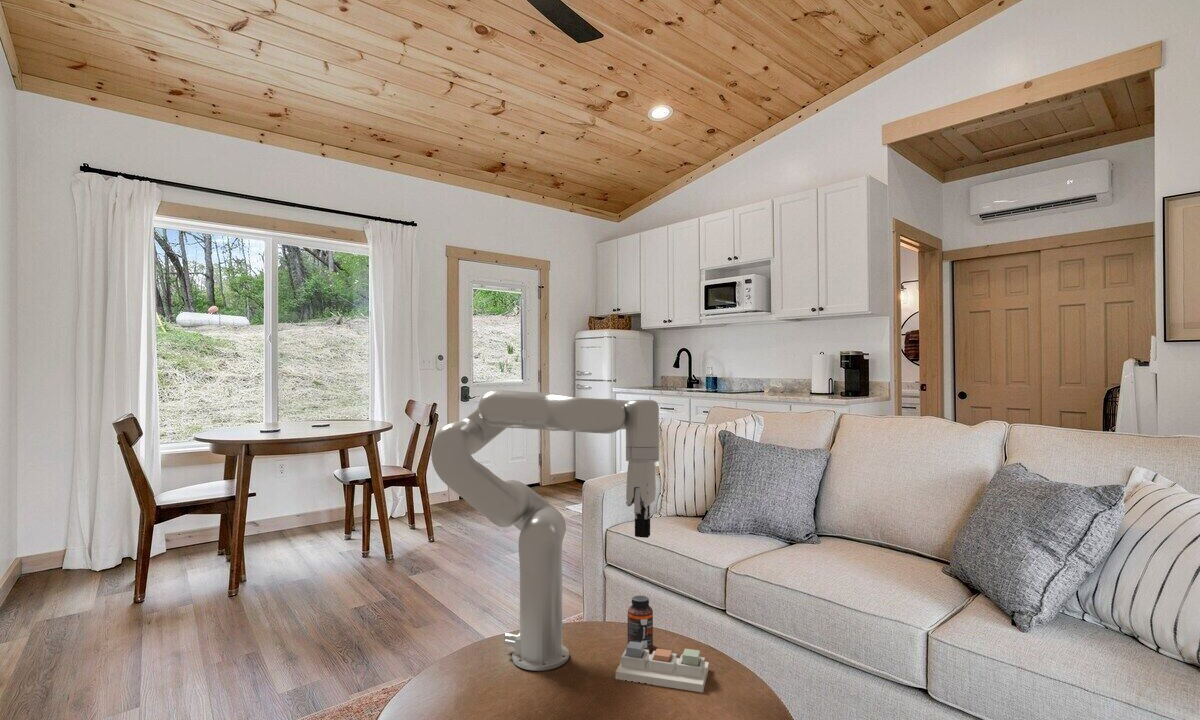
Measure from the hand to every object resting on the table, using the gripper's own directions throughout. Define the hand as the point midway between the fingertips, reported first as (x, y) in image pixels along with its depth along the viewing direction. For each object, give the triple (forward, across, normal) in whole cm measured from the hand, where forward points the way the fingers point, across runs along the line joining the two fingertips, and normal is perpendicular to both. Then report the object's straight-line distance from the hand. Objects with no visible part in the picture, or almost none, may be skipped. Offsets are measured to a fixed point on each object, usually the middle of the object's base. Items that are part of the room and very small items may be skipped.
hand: (642, 536), depth 129 cm
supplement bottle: (+27, -6, -2) cm, 28 cm away
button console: (+27, +5, +6) cm, 28 cm away
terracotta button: (+25, +5, +6) cm, 26 cm away
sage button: (+24, +5, +12) cm, 27 cm away
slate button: (+24, +5, 0) cm, 25 cm away
